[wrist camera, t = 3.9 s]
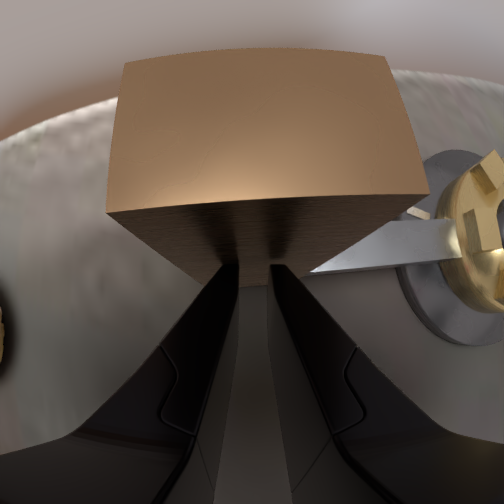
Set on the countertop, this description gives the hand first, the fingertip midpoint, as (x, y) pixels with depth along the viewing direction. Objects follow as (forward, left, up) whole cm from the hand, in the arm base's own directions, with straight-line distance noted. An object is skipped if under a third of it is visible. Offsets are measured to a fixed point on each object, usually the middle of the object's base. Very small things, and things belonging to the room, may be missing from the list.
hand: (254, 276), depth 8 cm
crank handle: (-2, -9, -7) cm, 11 cm away
